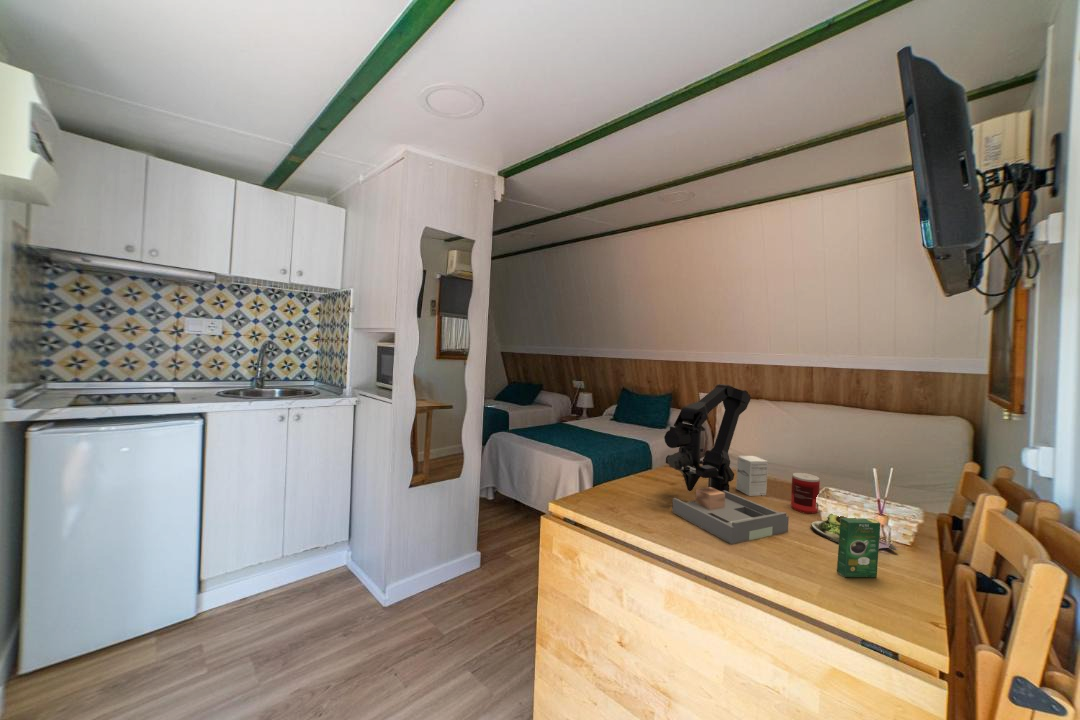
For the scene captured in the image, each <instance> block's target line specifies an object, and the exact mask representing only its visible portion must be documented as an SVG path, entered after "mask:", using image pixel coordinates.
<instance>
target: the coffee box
mask: <svg viewBox="0 0 1080 720" xmlns="http://www.w3.org/2000/svg"><path fill="white" fill-rule="evenodd" d="M880 533H881V522H879V521H877V520H876V519H873V518H858V517H855V518H841V519H840V533H839V539H838V540H839V543H838V547H837V548H838V549H837V550H838V551H837V561H836V562H837V563H836V573H837V574H839V575H840V576H842V577H844V578H853V579H854V578H877V576H878V564H879V563H878V562H879V561H878V560H879V551H880V550H879V538H880Z"/></svg>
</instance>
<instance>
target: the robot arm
mask: <svg viewBox="0 0 1080 720" xmlns="http://www.w3.org/2000/svg"><path fill="white" fill-rule="evenodd" d="M750 402H751V395H750V394H749V392H748V391H747V390H746V389H745V390H744V389H739V388H736V387H734V386H731V385H729V384H717V385H716V386H715V387H714V388H713V389H711V391H710V392H708V393H707V394H706V395H705V396H703V397H702V398H701V399H699V400H698V401H697V402H693V403H689V404H687V405H685V406H683V407H682V408H681V409H680V412H679V414H678V416H677V418H676V419H675V422H674V424H673V425H672V426H670V427H669V430H667V431H666V432H665V434H664V438H663V439H664V442H665V444H666V446H667V447H669V448H670V449H675V448H676V449H677V448H678V451H677V452H674V453H673V454H668V455H667V456H666V457H665V464H668V466H669V468H673V469H674V470H677V471H678V472H680V473H681V474H682V476H683V480H684V482H685V486H686V489H687V491H688V492H692V491H693V490H694V487H696V484H697V483H698V481H699V479H700V478H704V479H708V483H707V484H708V486H707V487H712V488H714V489H717V490H719V491H721V492H722V491H723V490H725V491H728V492H730V484H729V483H731V482H732V481H734V479H735V473H734V471H733V470H732V469H731V467H730V466H731V458H730V455H729V451H730V447H731V444H732V440H733V437H734V435H735V431H736V427H737V424H738V421H739V418H740V415H741V414H742V413H743V412H744V411H746V410H747V408H748V406H749V403H750ZM721 403H722V404H723V409H724V413H723V414H722V415H723V416H722V420H721V422H720V426H719V429H718V432H717V436H716V437H715V441H714V443H713V448H711V449H710V450H708V449H707V450H706V451H705V452H704V448H702V447H701V446H702V445H701V443H702V432H705V431H706V428H705V427H704V426H703V425H704V423H705V422H706V420H708V418H709V413H710V412H712V410H713V409H715V408H716V407H718V405H720V404H721ZM702 452H704V456H703V458H702V460H701V453H702Z"/></svg>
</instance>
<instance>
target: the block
mask: <svg viewBox="0 0 1080 720" xmlns="http://www.w3.org/2000/svg"><path fill="white" fill-rule="evenodd" d="M695 501H696V503H697V504H699V505H701V506H703V507H705V508H707V509H709V510H712V509H718V508H723V507H725V493H724V492H721V491H719V490H717V489H714V488H712V487H708V486H707V487H702V488H696V490H695Z"/></svg>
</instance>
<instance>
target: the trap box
mask: <svg viewBox="0 0 1080 720" xmlns="http://www.w3.org/2000/svg"><path fill="white" fill-rule="evenodd" d="M722 492H724V493H725V507H723V508H718V509H712V510H709V509H707V508H705V507H703V506H701V505H699V504H697V503H696V500H693V501H687V502H686V501H683V500H681V499H679V498H677V497H673V498H672V511H671V513H673V514H675V515H676V516H679V517H680V518H682V519H684V520H685V521H688V522H689V523H691V524H693V525H695V526H697V527H699V528H701V529H702V530H704V531H706V532H708V533H710V534H712V535H714V536H716V537H718V538H719V539H720V540H723V541H724V542H727V543H729V544H730V545H734V544H739V543H742V542H748V541H752V540H757V539H761V538H767V537H771V536H775V535H779V534H784V533H788V532H789V519H790V517H789V515H787V513H786V512H785V511H781V512H779V511H777V510H775V509H772V508H770V507H766V506H765V505H763V504H760V503H757V502H754V501H752V500H750V499H748V498H744V497H742V496H739V495H737V494H735V493H732V492H730V491H729V492H728V491H725V490H723V491H722Z"/></svg>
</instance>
